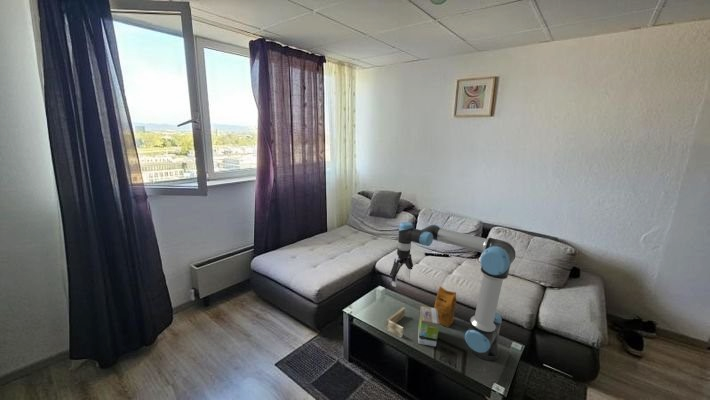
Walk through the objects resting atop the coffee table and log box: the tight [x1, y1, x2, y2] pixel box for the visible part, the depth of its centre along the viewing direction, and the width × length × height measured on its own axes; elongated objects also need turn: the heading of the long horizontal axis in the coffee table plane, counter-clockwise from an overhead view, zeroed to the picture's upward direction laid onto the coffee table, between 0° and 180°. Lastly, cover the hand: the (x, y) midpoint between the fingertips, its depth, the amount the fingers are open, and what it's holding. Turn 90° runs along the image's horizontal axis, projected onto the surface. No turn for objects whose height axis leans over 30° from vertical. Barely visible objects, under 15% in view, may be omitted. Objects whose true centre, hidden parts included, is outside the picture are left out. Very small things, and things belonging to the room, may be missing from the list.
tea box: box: [417, 305, 440, 347], centre depth 164 cm, size 15×10×15 cm, turn 168°
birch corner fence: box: [384, 306, 406, 338], centre depth 173 cm, size 11×19×6 cm, turn 140°
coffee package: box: [433, 286, 457, 328], centre depth 179 cm, size 10×12×22 cm
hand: (400, 282), depth 171 cm, fingers open, 13 cm apart
